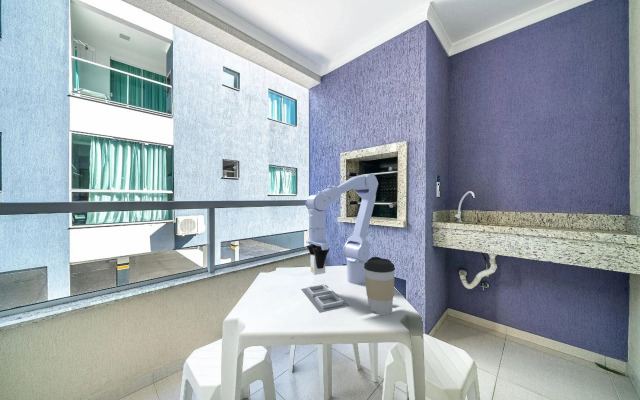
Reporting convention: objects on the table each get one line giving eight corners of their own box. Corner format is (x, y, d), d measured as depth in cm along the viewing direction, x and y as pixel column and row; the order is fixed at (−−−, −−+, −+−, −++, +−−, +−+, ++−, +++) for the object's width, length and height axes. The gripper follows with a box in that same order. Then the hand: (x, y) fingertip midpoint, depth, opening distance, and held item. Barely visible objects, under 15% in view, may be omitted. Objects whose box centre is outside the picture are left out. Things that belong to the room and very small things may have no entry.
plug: (321, 270, 81) (320, 252, 81) (325, 273, 77) (324, 254, 77) (310, 271, 79) (310, 253, 80) (314, 274, 76) (314, 255, 76)
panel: (325, 286, 85) (325, 282, 85) (350, 308, 67) (350, 302, 67) (300, 291, 81) (300, 286, 81) (319, 315, 64) (319, 309, 64)
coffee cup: (401, 315, 63) (400, 262, 63) (371, 318, 61) (370, 264, 61) (387, 301, 72) (386, 255, 72) (360, 304, 70) (359, 256, 70)
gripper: (300, 226, 84) (301, 262, 84) (313, 231, 70) (314, 274, 70) (318, 225, 86) (318, 260, 86) (333, 229, 73) (334, 271, 73)
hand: (318, 266), depth 78 cm, fingers closed on plug, 4 cm apart
